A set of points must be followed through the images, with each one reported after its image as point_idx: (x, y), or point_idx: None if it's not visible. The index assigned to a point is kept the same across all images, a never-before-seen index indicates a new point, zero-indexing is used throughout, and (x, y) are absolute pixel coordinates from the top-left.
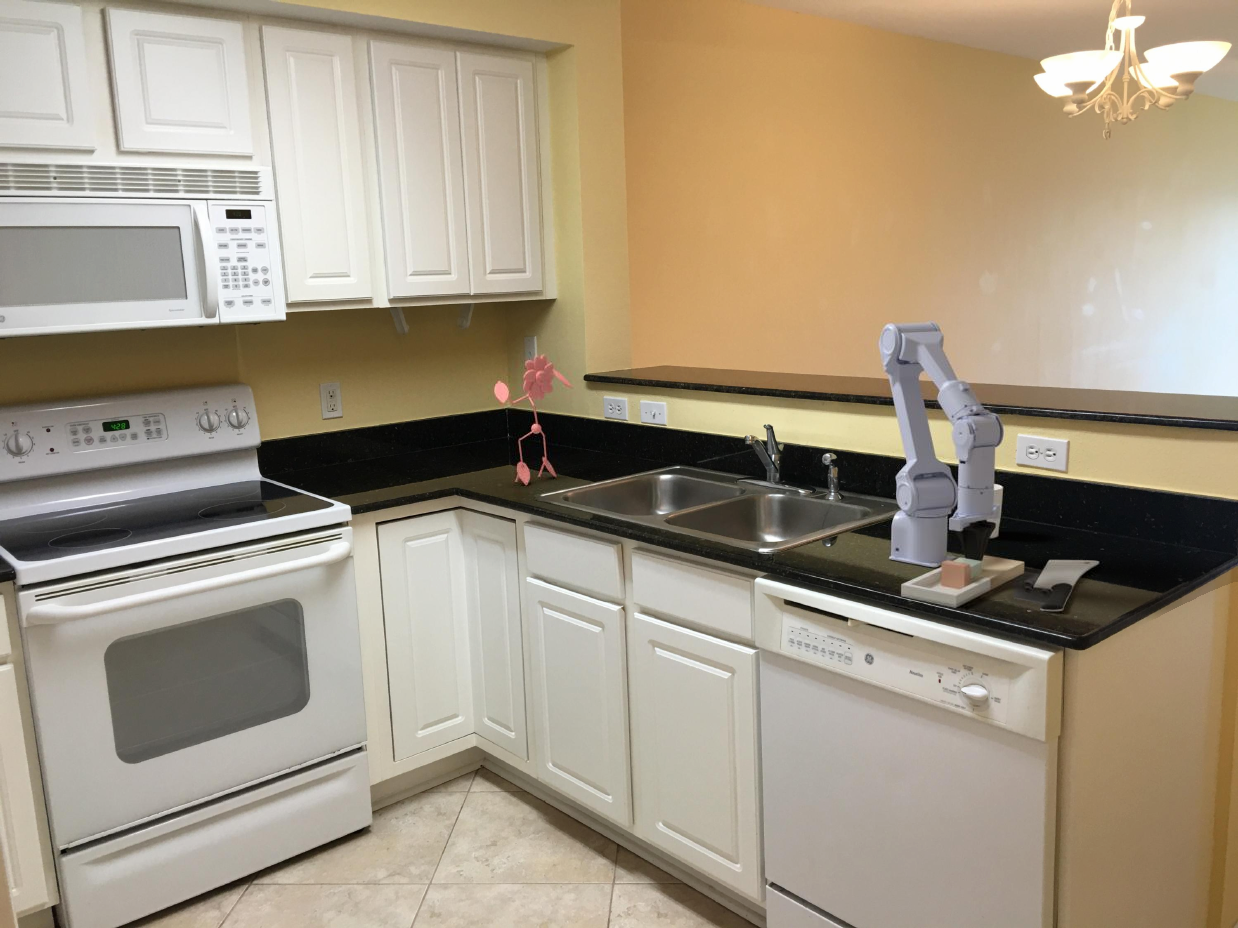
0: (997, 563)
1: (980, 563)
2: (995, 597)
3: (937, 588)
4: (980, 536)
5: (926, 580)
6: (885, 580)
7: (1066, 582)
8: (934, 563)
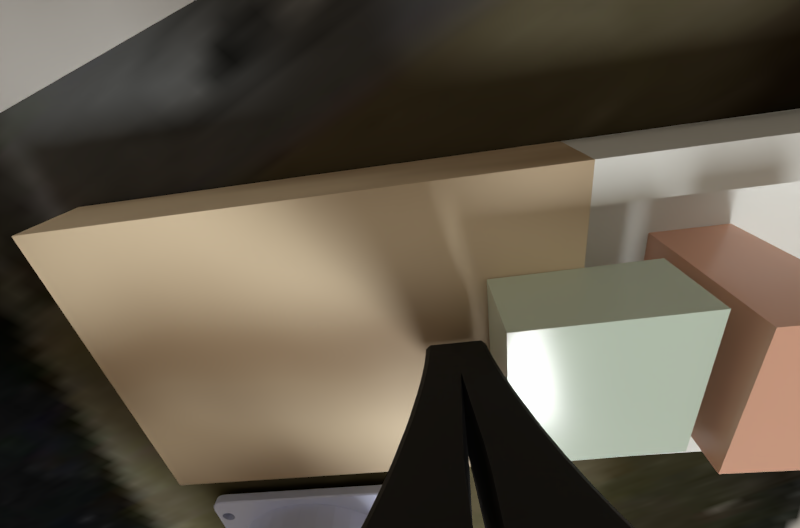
0: (212, 328)
1: (545, 321)
2: (712, 8)
3: None
4: None
5: None
6: (673, 504)
7: None
8: (370, 505)
